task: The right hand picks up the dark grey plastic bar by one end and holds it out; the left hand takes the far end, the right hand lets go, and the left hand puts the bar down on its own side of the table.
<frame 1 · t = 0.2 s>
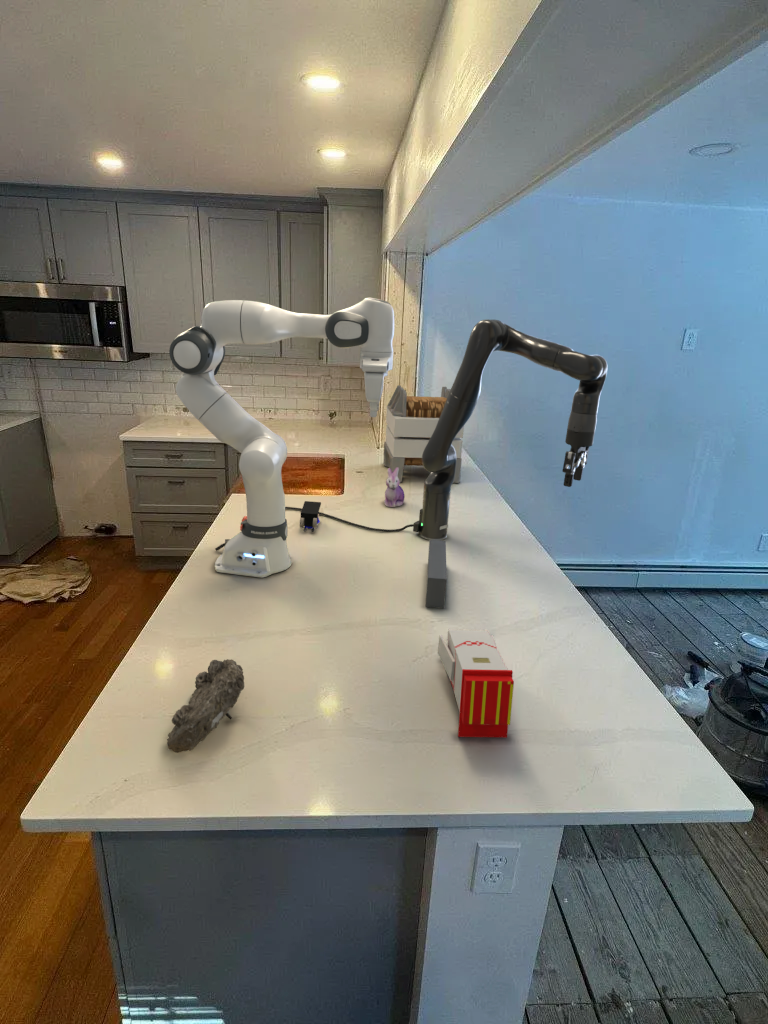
left hand: (374, 413, 157), 47 cm above the counter, tool pointing down, fingers open, 8 cm apart
right hand: (572, 483, 165), 29 cm above the counter, tool pointing down, fingers open, 8 cm apart
bar: (435, 585, 164), on the counter
figurine: (393, 504, 230), on the counter
fossil: (212, 717, 108), on the counter
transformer: (419, 473, 275), on the counter
toy: (469, 691, 119), on the counter
figurine character: (310, 527, 202), on the counter
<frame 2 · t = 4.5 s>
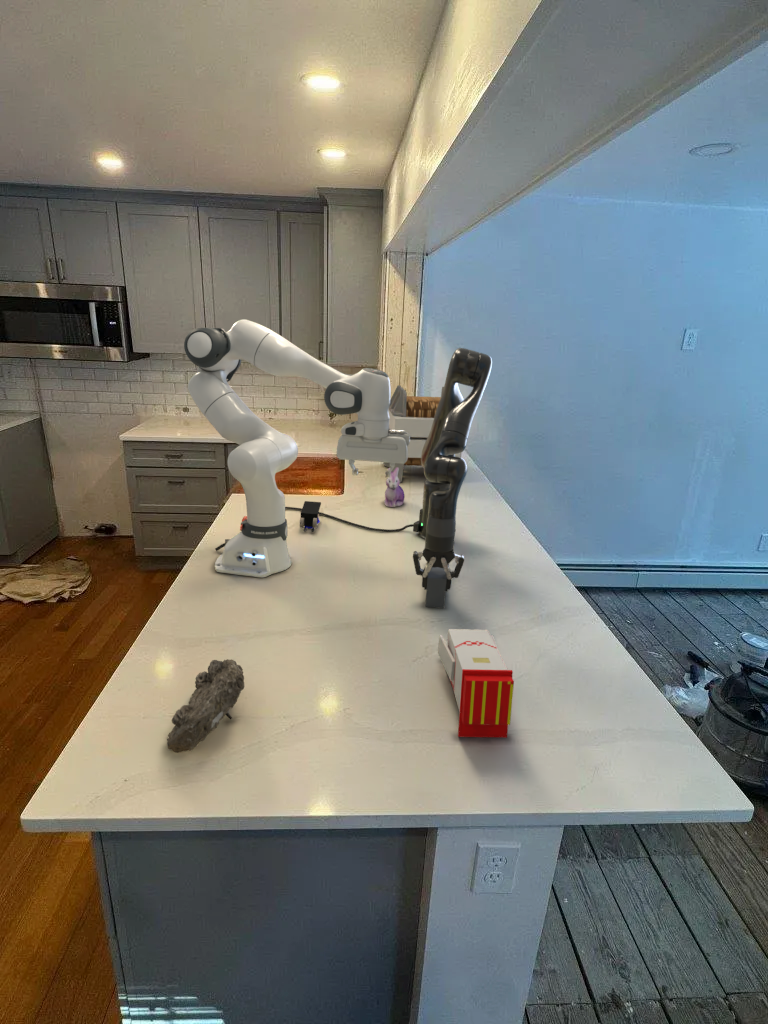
left hand: (371, 476, 163), 29 cm above the counter, tool pointing down, fingers open, 8 cm apart
right hand: (435, 589, 153), 4 cm above the counter, tool pointing down, fingers closed on bar, 5 cm apart
bar: (435, 585, 164), on the counter, touching right hand
everything else where it was.
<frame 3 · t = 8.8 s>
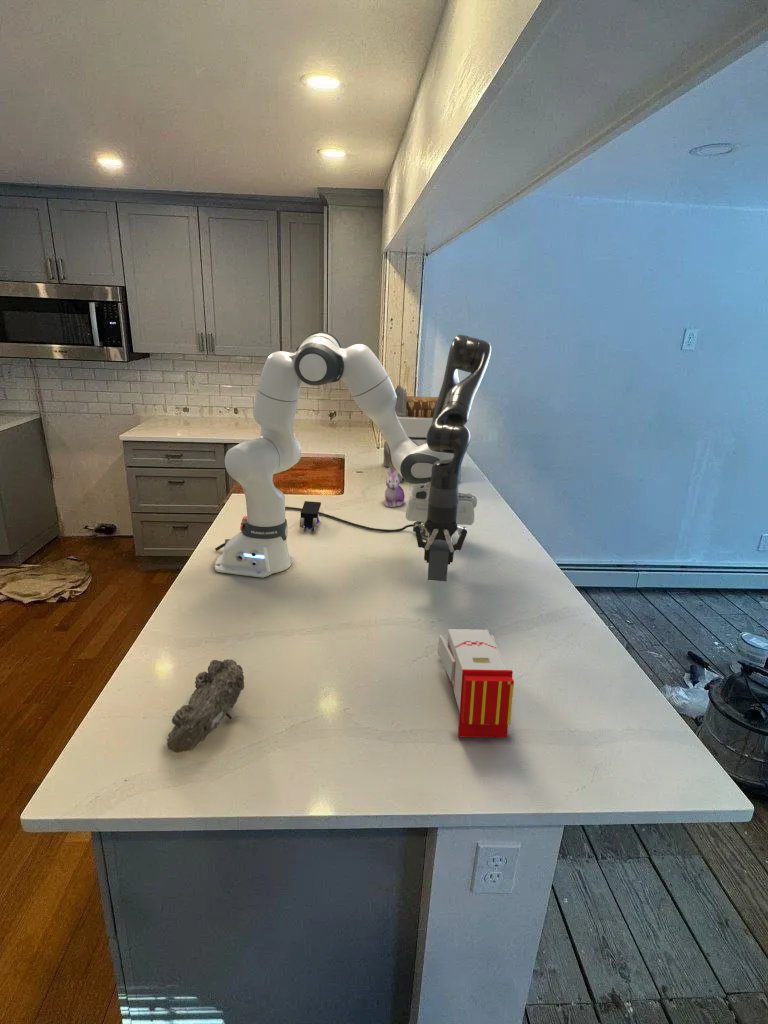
left hand: (438, 535, 170), 11 cm above the counter, tool pointing down, fingers closed on bar, 5 cm apart
right hand: (438, 562, 150), 12 cm above the counter, tool pointing down, fingers closed on bar, 5 cm apart
bar: (437, 560, 161), point 8 cm above the counter, touching right hand, left hand
everything else where it was.
when the right hand's fingers open (12 cm above the counter, at t = 9.8 s): bar stays where it is, held by the left hand.
when the left hand's fingers open (5 cm above the counter, at t = 16.6 s): bar stays where it is, on the counter.
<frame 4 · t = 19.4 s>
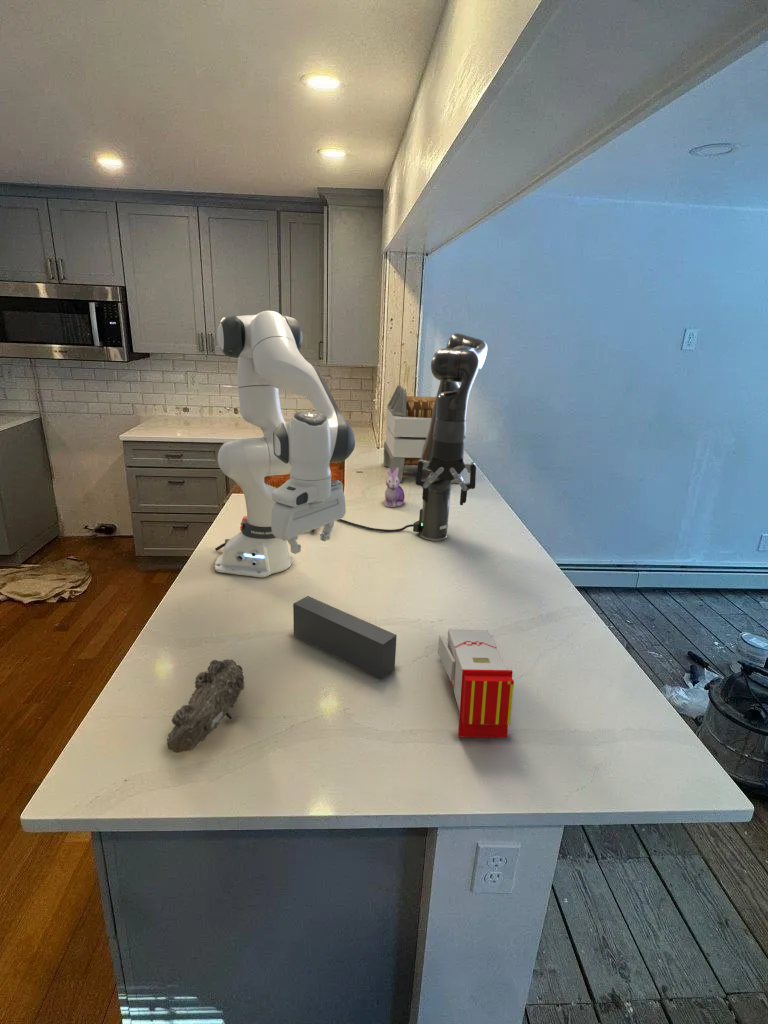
left hand: (310, 546, 128), 24 cm above the counter, tool pointing down, fingers open, 8 cm apart
right hand: (443, 503, 138), 31 cm above the counter, tool pointing down, fingers open, 8 cm apart
bar: (342, 651, 131), on the counter
everything else where it was.
at the end: bar inside the target area (9.8 cm from its centre), on the counter; the left hand is holding nothing; the right hand is holding nothing; bar at rest at the end (0.0 cm/s) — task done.
